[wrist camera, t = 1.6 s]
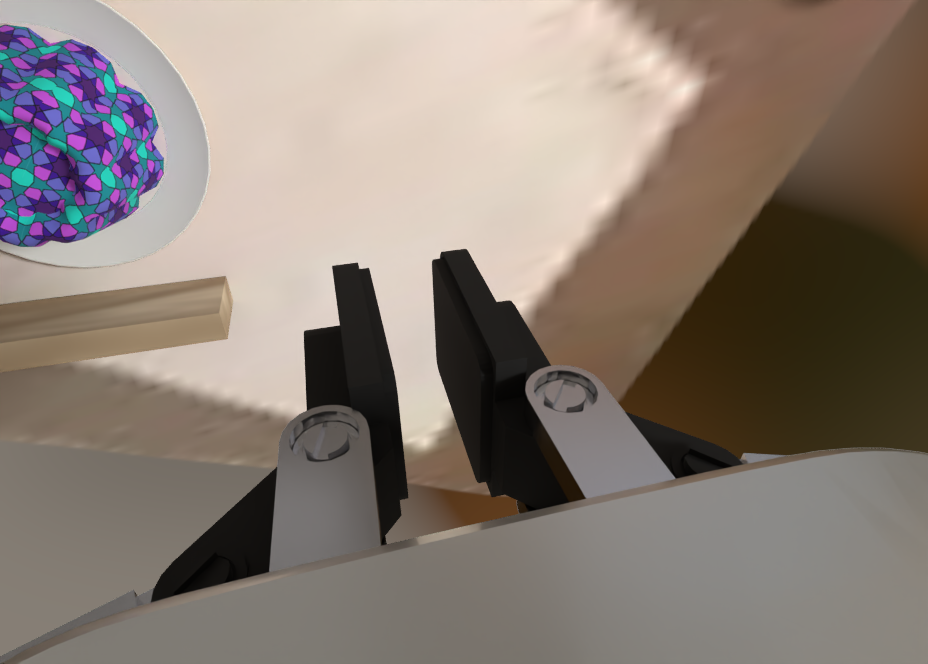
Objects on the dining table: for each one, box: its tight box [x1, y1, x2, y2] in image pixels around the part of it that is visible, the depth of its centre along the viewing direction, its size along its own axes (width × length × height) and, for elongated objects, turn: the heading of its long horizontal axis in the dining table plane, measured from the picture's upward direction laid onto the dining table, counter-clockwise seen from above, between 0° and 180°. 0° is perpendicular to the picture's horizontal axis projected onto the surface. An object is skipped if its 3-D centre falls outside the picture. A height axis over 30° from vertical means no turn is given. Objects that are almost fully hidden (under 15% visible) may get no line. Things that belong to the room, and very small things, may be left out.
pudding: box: [0, 0, 210, 268], centre depth 22 cm, size 12×12×5 cm
